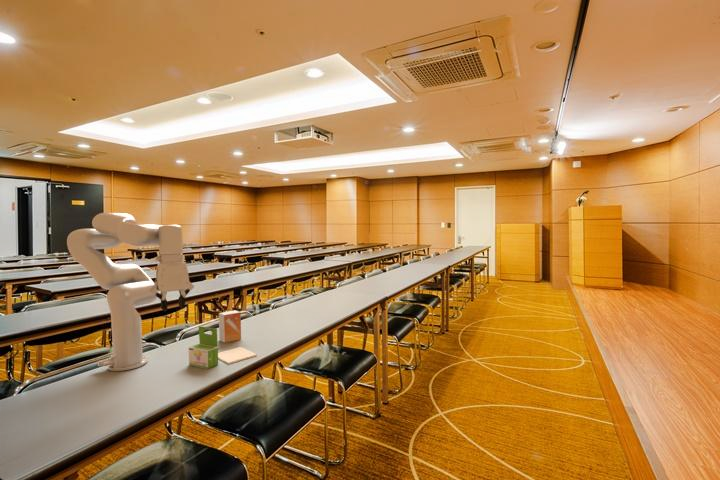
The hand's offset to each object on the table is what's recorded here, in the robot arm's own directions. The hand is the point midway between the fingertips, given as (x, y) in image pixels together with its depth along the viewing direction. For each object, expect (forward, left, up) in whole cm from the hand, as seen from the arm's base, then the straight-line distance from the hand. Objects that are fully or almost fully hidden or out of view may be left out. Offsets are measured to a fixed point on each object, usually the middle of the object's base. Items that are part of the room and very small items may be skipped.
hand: (173, 308), depth 127 cm
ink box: (+10, 0, -24) cm, 26 cm away
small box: (+31, +22, -24) cm, 45 cm away
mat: (+23, 0, -23) cm, 32 cm away
